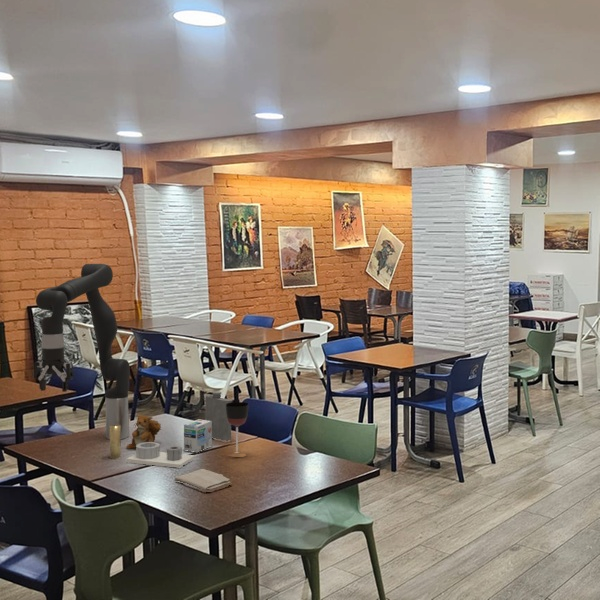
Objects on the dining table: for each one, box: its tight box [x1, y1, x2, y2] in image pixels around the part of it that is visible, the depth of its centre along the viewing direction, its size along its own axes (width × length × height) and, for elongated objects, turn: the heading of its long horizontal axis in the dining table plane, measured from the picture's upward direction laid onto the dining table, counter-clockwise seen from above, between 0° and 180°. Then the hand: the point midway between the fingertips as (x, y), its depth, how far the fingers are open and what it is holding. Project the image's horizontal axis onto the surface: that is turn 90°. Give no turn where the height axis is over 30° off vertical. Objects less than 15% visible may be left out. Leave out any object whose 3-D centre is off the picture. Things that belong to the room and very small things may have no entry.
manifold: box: [126, 441, 196, 467], centre depth 258 cm, size 22×12×6 cm, turn 72°
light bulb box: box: [183, 418, 213, 453], centre depth 274 cm, size 11×7×11 cm, turn 154°
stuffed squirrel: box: [125, 414, 162, 450], centre depth 278 cm, size 10×14×13 cm
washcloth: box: [174, 468, 232, 490], centre depth 233 cm, size 12×18×3 cm, turn 48°
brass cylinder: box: [109, 425, 122, 459], centre depth 263 cm, size 4×4×12 cm
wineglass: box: [226, 401, 249, 453], centre depth 266 cm, size 8×9×20 cm
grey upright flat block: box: [205, 391, 232, 441], centre depth 289 cm, size 16×4×20 cm, turn 43°
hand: (53, 390), depth 248 cm, fingers open, 8 cm apart
